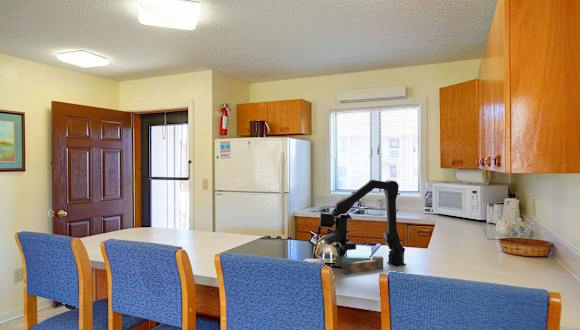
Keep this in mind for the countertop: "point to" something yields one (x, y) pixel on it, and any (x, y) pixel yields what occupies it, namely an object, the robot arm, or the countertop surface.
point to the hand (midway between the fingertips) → (340, 260)
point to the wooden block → (363, 265)
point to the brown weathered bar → (349, 259)
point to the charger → (315, 260)
